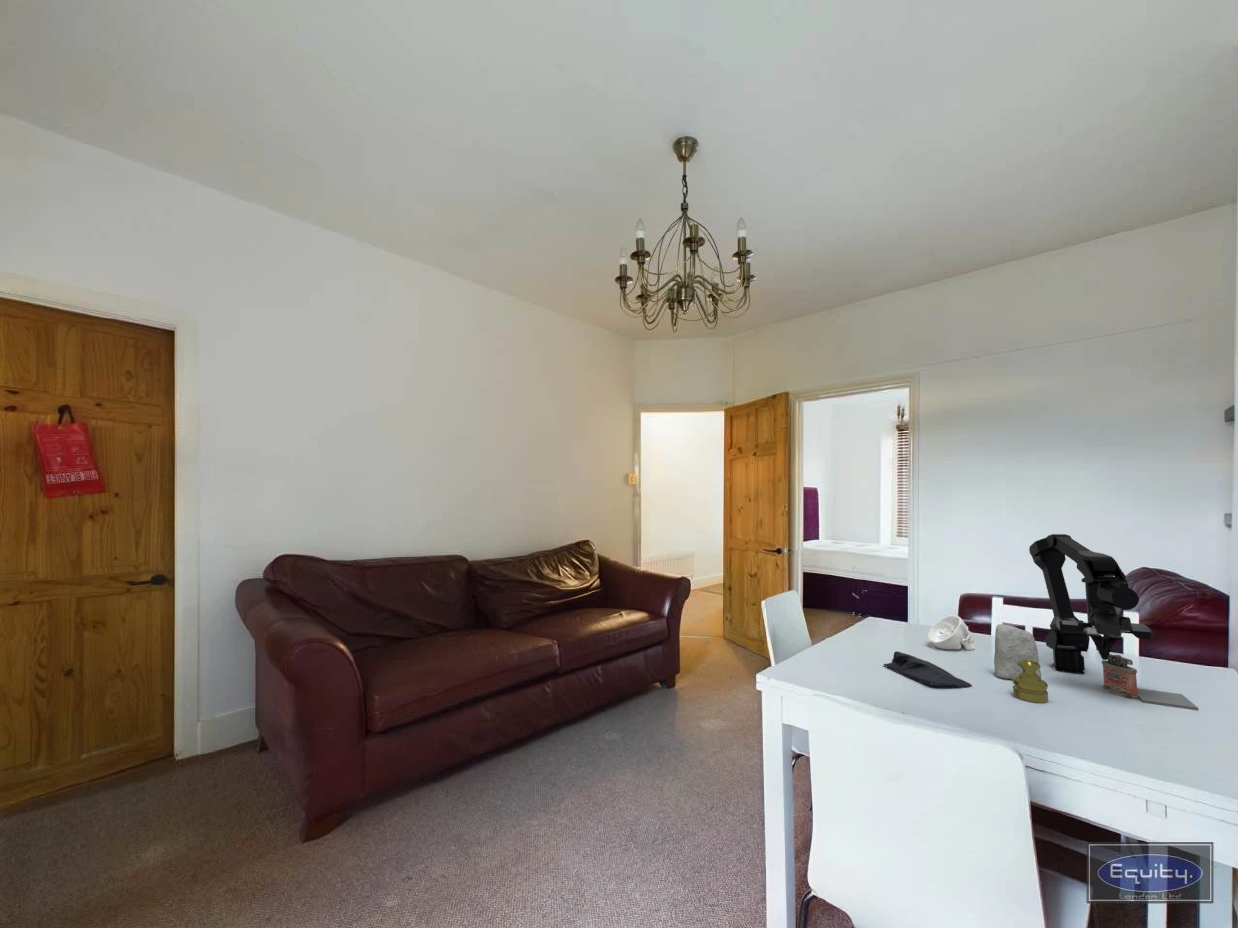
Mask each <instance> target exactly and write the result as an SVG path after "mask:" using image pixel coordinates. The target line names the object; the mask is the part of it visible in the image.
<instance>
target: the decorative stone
mask: <svg viewBox="0 0 1238 928" xmlns="http://www.w3.org/2000/svg"><path fill="white" fill-rule="evenodd" d="M994 635H995V636H994V659H993V663H994V664H993V665H994V674H995V677H998V678H1001V679H1006V680H1012V678H1013V677H1014V676H1017V675H1018V674H1020V673H1021V672H1022V671H1023V669H1022V668H1021V667H1020V666H1019V665H1018V664H1017V661H1019V660H1024V659H1031V660H1033V661H1034V662H1037V663H1038V664H1040V659H1039V652H1038V648H1037V643H1036V640H1035V637H1034V635H1033V634H1032V633H1031V632H1030V631H1028V630H1024V629H1021V628H1018V627H1016V626H1012V625H1008V624H1004V623H999V624H997V625H996V627H995V634H994ZM1035 673H1036V674H1037V675H1038V676H1039V677H1040V678H1041V679H1042V672H1041V667H1040V668H1039V669H1037V670H1036V672H1035Z"/></svg>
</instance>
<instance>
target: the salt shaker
mask: <svg viewBox="0 0 1238 928" xmlns="http://www.w3.org/2000/svg"><path fill="white" fill-rule="evenodd" d="M1017 664H1018V665H1019V666H1020V667H1021V668H1022V669H1023V671H1022V672H1021V673H1020V674H1018V675H1017V676H1014V677H1013V678H1012V679H1011V681H1012V684H1013V685H1012V691H1013V692H1012V693H1013V695H1014V697H1016V698H1018V699H1019V700H1023V701H1026V702H1029V703H1037V704H1038V703H1039V704H1042V703H1043V704H1044V703H1048V702H1049V692H1048V691H1047V690H1048V685H1049V684H1048V683H1047V682H1046V681H1045V680H1044V679H1042V677H1041V678H1040V677H1039V676H1038V675H1037V674H1036V673H1035V672H1036V670H1037V669H1039V668H1040V669H1041V667H1042V666H1041V664H1040V663H1039V664H1038V663H1037V662H1034V661H1033V660H1031V659H1024V660H1019V661H1017Z"/></svg>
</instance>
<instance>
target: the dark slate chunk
mask: <svg viewBox="0 0 1238 928" xmlns="http://www.w3.org/2000/svg"><path fill="white" fill-rule="evenodd" d="M884 665H885V666H887V667H889V668H888V669H890V668H891V669H890V670H892V669H893V670H895V671H897V672H896V673H898V672H899V673H898V674H900V673H901V674H900V675H902V674H903V675H902V676H905V675H907V676H906V677H908V676H909V678H910V679H912V678H914V679H916V680H915V681H917V682H919V681H920V682H919V683H921V682H922V683H921V684H923V683H924V685H926V686H930V687H936V688H937V687H949V688H970V687H973V685H972V684H971V683H970V682H968V681H966V680H964V679H961V678H958V677H957V676H954V675H953V674H952V673H950V672H949V671H947V670H946V669H944V668H942V667H939V666H938V665H936V664H934V663H932V662H930V661H928V660H923V659H921V658H919V657H917V656H913V655H911V654H907V653H904V652H901V651H894V653H893V658H892V660H891V662H890V663H884V664H883V666H884ZM885 666H884V667H885ZM887 667H886V668H887ZM893 670H892V671H893ZM895 671H894V672H895ZM914 679H913V680H914Z"/></svg>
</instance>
